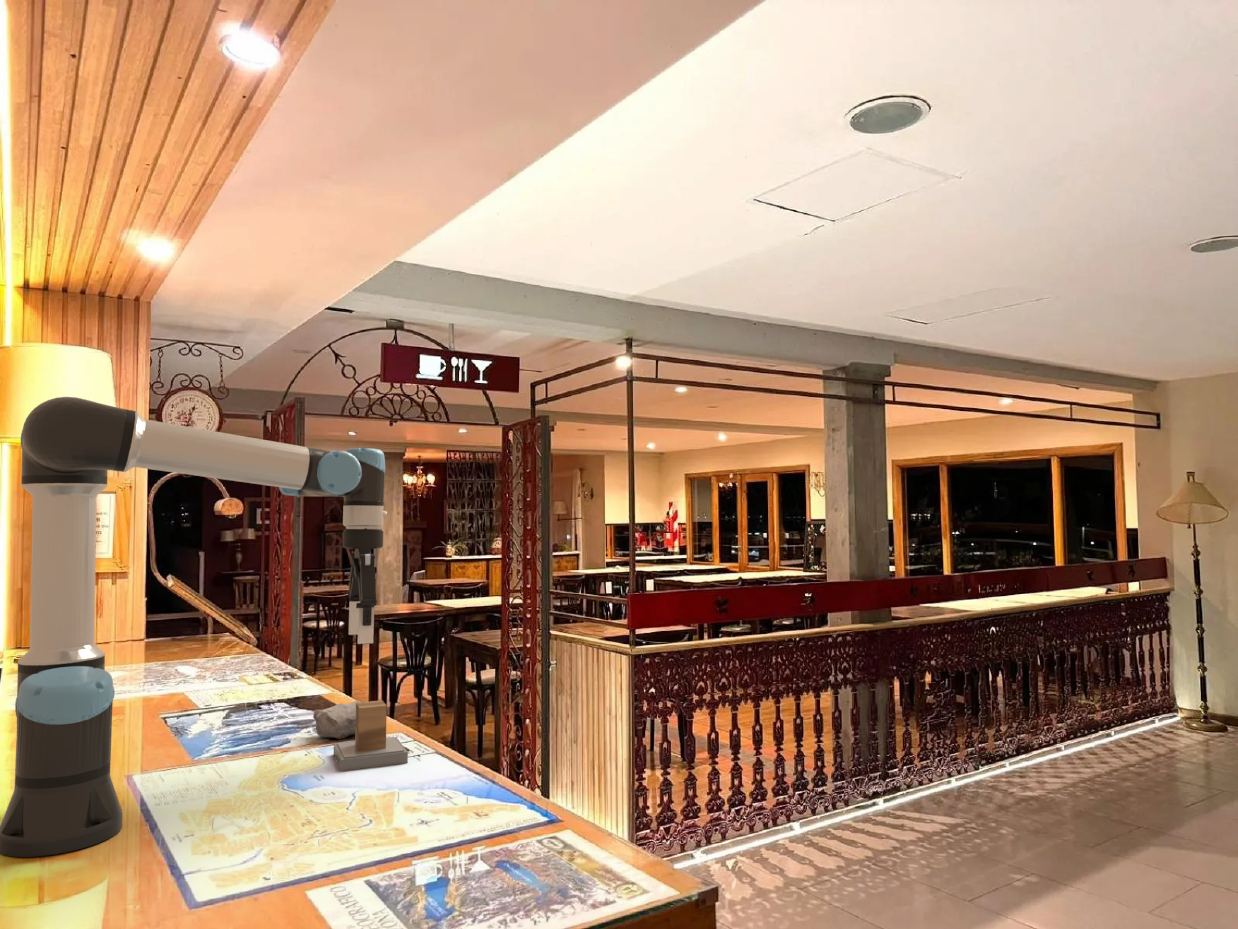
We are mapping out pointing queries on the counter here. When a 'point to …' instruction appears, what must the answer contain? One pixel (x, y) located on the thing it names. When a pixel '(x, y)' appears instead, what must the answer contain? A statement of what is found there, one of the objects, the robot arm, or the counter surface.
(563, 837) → the counter surface
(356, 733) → the block
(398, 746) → the board
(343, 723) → the stone
